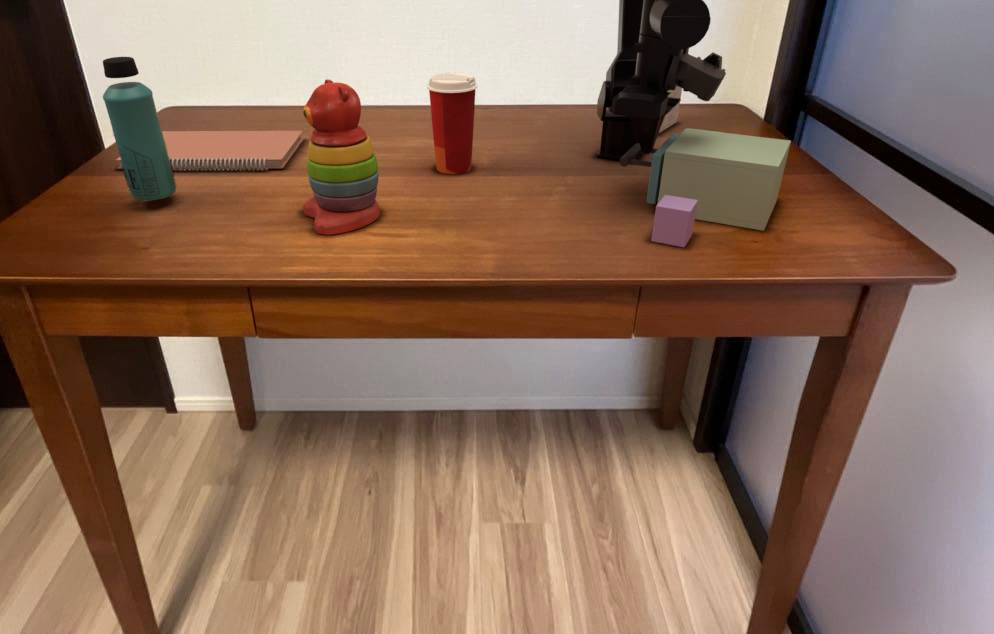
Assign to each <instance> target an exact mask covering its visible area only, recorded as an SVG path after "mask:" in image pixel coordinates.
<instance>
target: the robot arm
mask: <svg viewBox="0 0 994 634" xmlns="http://www.w3.org/2000/svg"><path fill="white" fill-rule="evenodd" d="M618 1H619V3H618V24H617V25H618V26H617V49H616V50H617V52H616V55H615V57H614V59H613V60H612V62H611V64H610V65H609V67H608V68H607V71H606V73H605V80H603V82H602V85H601V88H600V91H599V94H598V98H597V107H596V114H597V117H598V118H599V120H600V121H601V122H602V127H601V136H600V137H601V139H600V147H599V151H597V153H596V154H595V156H596V158H601V159H608V160H614V161H620V158H621V157H622V156H623V155H625V154H626V153H627V152H628V151H629V150H630V149H631V148H632V147H633V146H634V145H635V144H636V143H639V144H640V147H641V150H642V152H641V153H640V154H639V155H638V156H637V157H636V158H635V160H639V158H640V157H641V156H642V155H643V154H645V155H650V154H652V153H651V152H652V149H653V148H655V147H654V146H655V144H656V141H657V139H658V137H659V134H660V133H659V131H660V128H661V126H662V123H663V121H664V118H665V116H666V114H668V113H669V112H670V111H671V110H672V109H673V108H674V107H675V106H676V105H677V104H678V103H679V102H680V103H681V101H682V99H678V98H671V93H670V92H669V91H670V90H675V89H676V86H679V87H681V88H682V91H683V92H689V93H691V94H692V95H694V96H696V97H697V99H698V100H701V101H703V102H709V101H710V100H711V99H712V98H713V97H714V96H715V94H716V93H717V91H718V89H719V87H720V86H721V84H722V82H723V80H724V79H725V76H726V75H727V72H726V69H725V68H723V56H722V55H720V54H718V53H716V52H711V53H710V54H709V55H707V56H706V57H704V59H702V57H700V56H697V57H696V56H694V55H691V54H690V53H689V51H690V48H693V47H694V46H696V45H698V44H699V43H700V42H701V41H702V40H703V39H704V38H705V36H706V35H707V34H708V31H709V28H710V26H711V12H710V9H709V7H708V5H707V3H706V2H705V1H704V0H618Z"/></svg>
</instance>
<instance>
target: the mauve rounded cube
mask: <svg viewBox="0 0 994 634" xmlns="http://www.w3.org/2000/svg"><path fill="white" fill-rule="evenodd" d="M697 205H698V200H695V199H688V198H682V197H676V196H670V195H665V196H664V197H663V198H662V199H661V201H660V202H659V203H658V202H657V204H656V206H655V211H654V219H653V225H652V234H651V239H650V241H651V242H653V243H659V244H665V245H669V246H674V247H680V248H685V247H686V246H687V244H688V243H689V241H690V239H691V238H692V236H693V233H694V227H695V221H696V219H695V216H696V210H697Z"/></svg>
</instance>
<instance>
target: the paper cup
mask: <svg viewBox="0 0 994 634" xmlns="http://www.w3.org/2000/svg"><path fill="white" fill-rule="evenodd" d="M478 87H479V85H478V84H477V83H476V78H475V75H472V74H469V73H464V72H443V73H437V74H434V75H431V76H430V78H429V80H428V84H427V85H426V89H427V90H428V93H429V103H430V104H429V105H430V115H431V127H432V128H431V129H432V137H433V148H434V159H435V168H436V170H437V171H438V172H439V173H441V174H445V175H462V174H465V173H467V172H469V171H470V170H471V169H472V159H473V144H474V128H475V127H474V126H475V125H474V124H475V108H476V107H475V106H476V90H477V89H478Z"/></svg>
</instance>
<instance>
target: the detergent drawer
mask: <svg viewBox="0 0 994 634" xmlns="http://www.w3.org/2000/svg"><path fill="white" fill-rule="evenodd" d="M679 135H680V134H675V133H672V134H671V135H670V136H668V137H667V138H666V140H665V141H664V142H663V144H661V145H660V147H658V148H656V147H653V149H652V152H651V153H650V154H652V157H651V161H649V160H642V159H637V160H635V158H636V157H637V156H638V155H639V154H640V153H641V152H642V150H641V147H640V144H639V143H636V144H635V145H634V146H633V147H632V148H631V149H630V150H629V151H628V152H627V153H626V154H625V155H623V156H622V157H621V158H620V160H618V161H619V165H620V166H621V167H627V166H629V165H633V166H640V167H646V168H650V171H649V180H648V188H647V194H646V202H645V203H647V204H651V205H655V204H656V203H658V197H659V190H660V184H661V177H662V170H663V163H664V156H665V151H666V150H667V149H668V147H669V146H670V145H671V144H672V143H673V142H674V141H675V140H676V139H677V138H678V137H679Z"/></svg>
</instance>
